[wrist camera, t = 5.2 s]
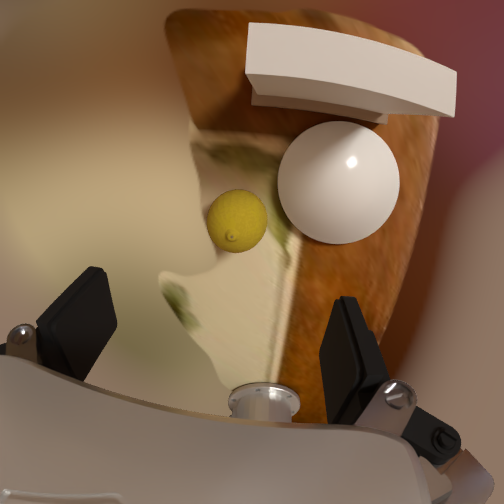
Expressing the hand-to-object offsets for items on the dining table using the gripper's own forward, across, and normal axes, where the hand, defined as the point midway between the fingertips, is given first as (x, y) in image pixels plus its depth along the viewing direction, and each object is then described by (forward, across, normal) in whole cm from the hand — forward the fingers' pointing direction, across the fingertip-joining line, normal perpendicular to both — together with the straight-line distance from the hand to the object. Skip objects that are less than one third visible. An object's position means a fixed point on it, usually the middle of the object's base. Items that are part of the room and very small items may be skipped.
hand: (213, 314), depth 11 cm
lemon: (+20, +1, +2) cm, 20 cm away
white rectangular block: (+20, -6, -11) cm, 24 cm away
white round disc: (+20, -9, -2) cm, 22 cm away
